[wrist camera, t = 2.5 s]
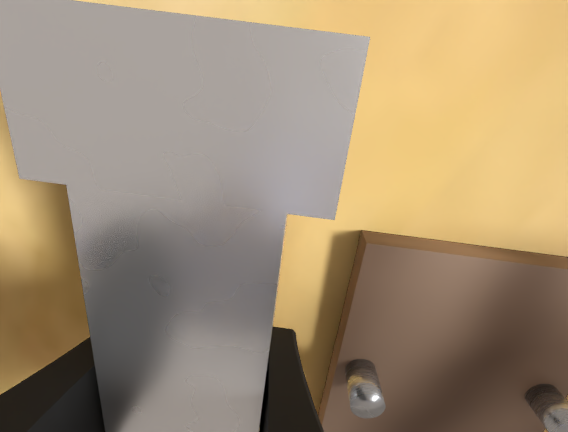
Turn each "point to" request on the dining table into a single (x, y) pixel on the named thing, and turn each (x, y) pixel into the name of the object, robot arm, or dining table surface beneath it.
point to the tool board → (449, 340)
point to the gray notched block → (178, 186)
